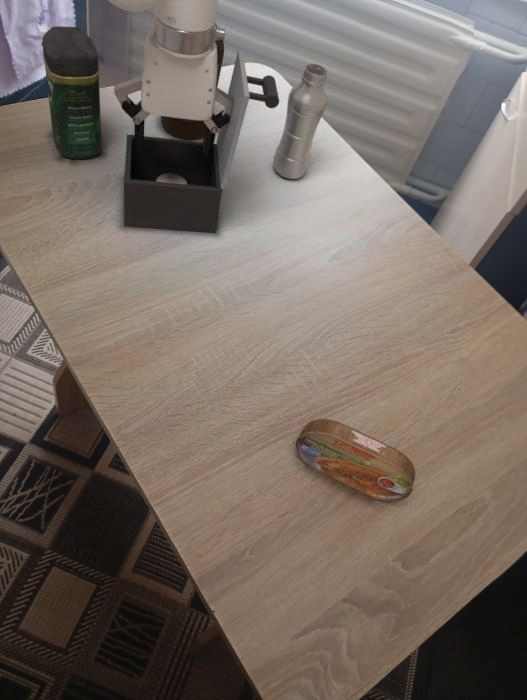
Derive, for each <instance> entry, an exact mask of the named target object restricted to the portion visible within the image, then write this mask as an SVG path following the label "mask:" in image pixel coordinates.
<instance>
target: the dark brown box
mask: <svg viewBox="0 0 527 700" xmlns="http://www.w3.org/2000/svg"><path fill="white" fill-rule="evenodd" d="M125 145H126V146H125V158H124V159H125V160H124V177H123V226H124V227H129V228H141V229H154V230H167V231H184V232H195V233H208V234H209V233H210V234H216V232H217V231H216V230H217V224H218V218H219V214H220V208H221V207H220V206H221V201H222V196H223V189H221V187H220V175H219V163H218V151H217V143H214V147H213V148H209V154H208V156H205V155H203V141H202V142H201V141H194V140H185V139H174V138H165V137H156V136H147V135H144V148H142V149H139V140H135V139H134V134H130V133H129V134H127V135H126V144H125ZM167 173H172V174H177V175H179V176H181V177H183V178H184V179H185V180H186V182H187V184H176V183H165V182H156V180H157V178H158V177H159V176H160V175H162V174H167Z"/></svg>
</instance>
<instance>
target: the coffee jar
mask: <svg viewBox="0 0 527 700" xmlns="http://www.w3.org/2000/svg"><path fill="white" fill-rule="evenodd" d="M41 45H42V46H41V47H42V54H43V62H44V68H45V77H46V78H45V79H46V86H47V94H48V96H47V97H48V105H49V113H50V123H51V131H52V138H53V142H54V145H55V148H56V150H57V151H58V153H59V154H60V155H61V156H63V157H65V158H69V159H75V160H83V159H90V158H93V157H96V156H98V155H99V154H101V151H102V124H101V123H102V121H101V94H100V93H101V92H100V69H99V68H100V67H99V58H98V57H99V56H98V51H97V49H96V45H95V43H94V42H93V40H92V38H91V37H90V36H89V35H88V34H87V33H86V32H84V31H82V30H81V29H80V28H79V27H76V26H57V25H56V26H52V27H50V29H48V30H46V32H45V33H44V34H43V37H42V41H41Z"/></svg>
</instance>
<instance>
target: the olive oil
mask: <svg viewBox="0 0 527 700" xmlns="http://www.w3.org/2000/svg"><path fill="white" fill-rule="evenodd" d="M216 25H217V26H218V23H216ZM224 41H225V40H220V39H218V40H215V43H216V46H217V80H216V87H218V88H219V86H218V85H219V81H220V77H221V71H222V66H223V60H224V55H225V42H224ZM160 123H161V126H162V128H163V130H165V132H166V133H168V134H169V135H171V136H173V137H174V138H177V139H180V140H186V141H194V140H199V139H202V138H204V130H205V123H204V122H203V121H199V120H190V119H181V118H173V117H165V116H160Z"/></svg>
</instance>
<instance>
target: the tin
mask: <svg viewBox="0 0 527 700" xmlns="http://www.w3.org/2000/svg"><path fill="white" fill-rule="evenodd" d="M294 447H295V451H296V453H297V455H298V457H299V458H300V459H301V460H302V462H303V463H305V465H307V466H308V467H310V468H311V469H313V470H314V471H316V472H318V473H319V474H323V475H325V476H327V477H328V478H330V479H332V480H334V481H337V482H339V483H341V484H343V485H345V486H347V487H349V488H351V489H353V490H354V491H357V492H359V493H361V494H363V495H365V496H367V497H369V498H371V499H375V500H378V501H383V502H399V501H402V500H405V499H407V498H408V497H410V496H411V494H412V493H413V489H414V488H413V487H414V482H415V478H416V477H415V476H416V468H415V466H414V464H413V462H412V461H411V459H410V458H409V457H408V456H407V455H405V454H404V453H402V451H400V450H398V449H396V448H395V447H392V446H390V445H388V444H386V443H385V442H382V441H380V440H378V439H376V438H374V437H372V436H370V435H367V434H366V433H363V432H361V431H359V430H357V429H355V428H353V427H350V426H348V425H346V424H344V423H342V422H340V421H337V420H333V419H327V418H318V419H313V420H310V421H308V422H307V423H306V424H305V425H304V426H303V427H302V430H301V431H300V434H299V436H298V437H297V439H296V441H295V446H294Z"/></svg>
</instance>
